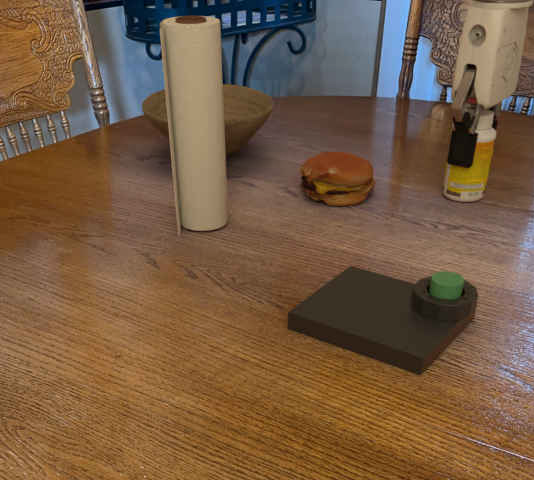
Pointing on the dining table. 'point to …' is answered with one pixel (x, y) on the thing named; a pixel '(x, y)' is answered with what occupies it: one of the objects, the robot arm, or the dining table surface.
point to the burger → (337, 178)
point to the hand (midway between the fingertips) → (469, 157)
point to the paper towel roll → (196, 119)
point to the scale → (384, 318)
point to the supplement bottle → (474, 178)
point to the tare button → (446, 285)
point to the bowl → (235, 114)
